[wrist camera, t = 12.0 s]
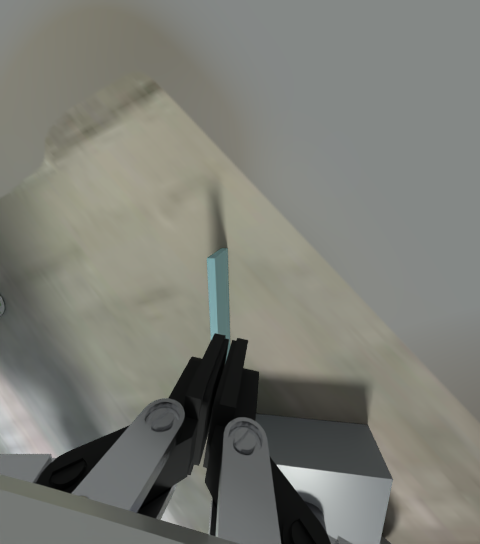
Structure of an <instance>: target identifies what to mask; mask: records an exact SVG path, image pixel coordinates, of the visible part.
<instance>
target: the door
mask: <svg viewBox="0 0 480 544" xmlns="http://www.w3.org/2000/svg"><path fill="white" fill-rule="evenodd" d="M207 270H208V290H209V310H210V330H211V340H212V338H213V336H214V334H215V333H217V334H221V335H226V338H225V339H229V344H228V350H227V356H228V353H229V350H230V321H229V283H228V248H221V249H220V250H218V251H217V252H215V253H214V254H212V255H211V256H209V257H208V258H207ZM227 356H226V360H227ZM225 363H226V362H225Z"/></svg>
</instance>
